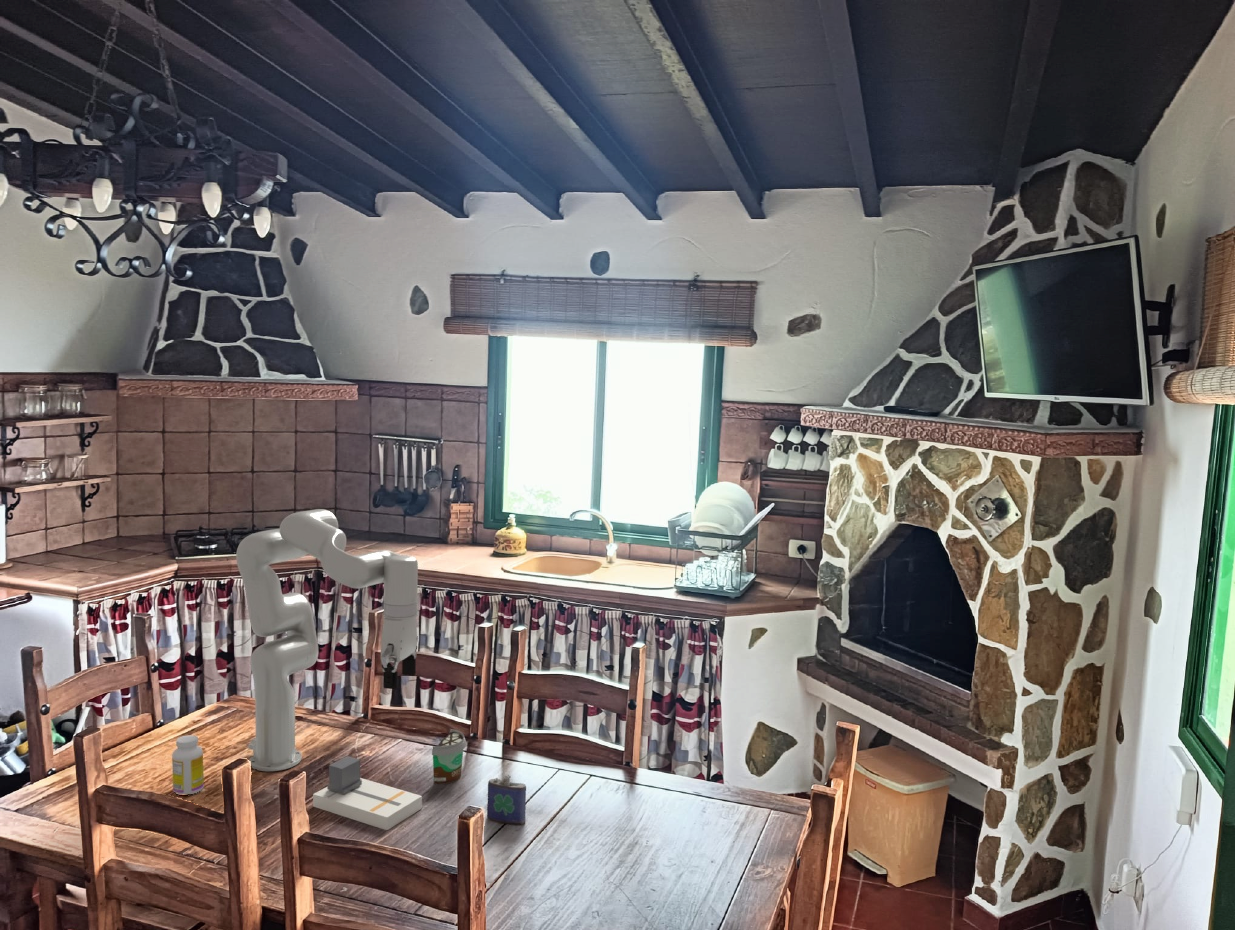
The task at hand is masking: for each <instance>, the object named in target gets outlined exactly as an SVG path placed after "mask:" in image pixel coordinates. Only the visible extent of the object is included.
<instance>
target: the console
mask: <svg viewBox="0 0 1235 930" xmlns="http://www.w3.org/2000/svg"><path fill="white" fill-rule="evenodd" d="M360 780H362V785H360V786H358V787H356V788H354V789H353V790H351V791H349V792H347V793H345V794H341V793H338V792H334V791H331V790H328V789H327V786H326V787H324V788H322V789H320V790H318V791H316V792H314V793H313V794H312V795H313V796H312V799H313V800H312V807H314V808H317V809H320V810H323V811H325V812H329V813H332V814H335V815H338V816H341V817H344V818H348V819H351V820H354V821H356V822H360V823H363V824H366V825H369V826H372V827H376V828H379V829H381V830H384V831H389V830H390V829H392V828H393V827H395V826H396V825H397V824H399V823H401V822H403V821H404V820H406V819H407V818H408V817H411V816H413V815H414V814H415V813H417V812H418V811H420V810H423V809H422V808H423V796H422V795H420V794H416V793H414V792H410V791H406V790H403V789H399V788H396V787H392V786H390V785H386V784H382V783H379V782H375V781H372V780H369V779H365V778H362V777H360Z"/></svg>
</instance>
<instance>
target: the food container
mask: <svg viewBox="0 0 1235 930" xmlns="http://www.w3.org/2000/svg"><path fill="white" fill-rule="evenodd" d="M466 747H467V741H466V738H465V735H464V733H463V732H461V731H460V730H457V729H452V728H449V733H448V734H447V735H446V736H445V737H443V738H441V739H440V742H439V743H438V744H437V745H435V746H434V745H433V746H432V749H431V755H432V767H433V768H432V770H433V773H432V774H433V784H434V785H446V784H451V783H453V782H456V781H458V780H459V779H460V778H461V777H462V770H463V769H462V768H463V766H462V765H463V757H464V750H465V748H466Z"/></svg>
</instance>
